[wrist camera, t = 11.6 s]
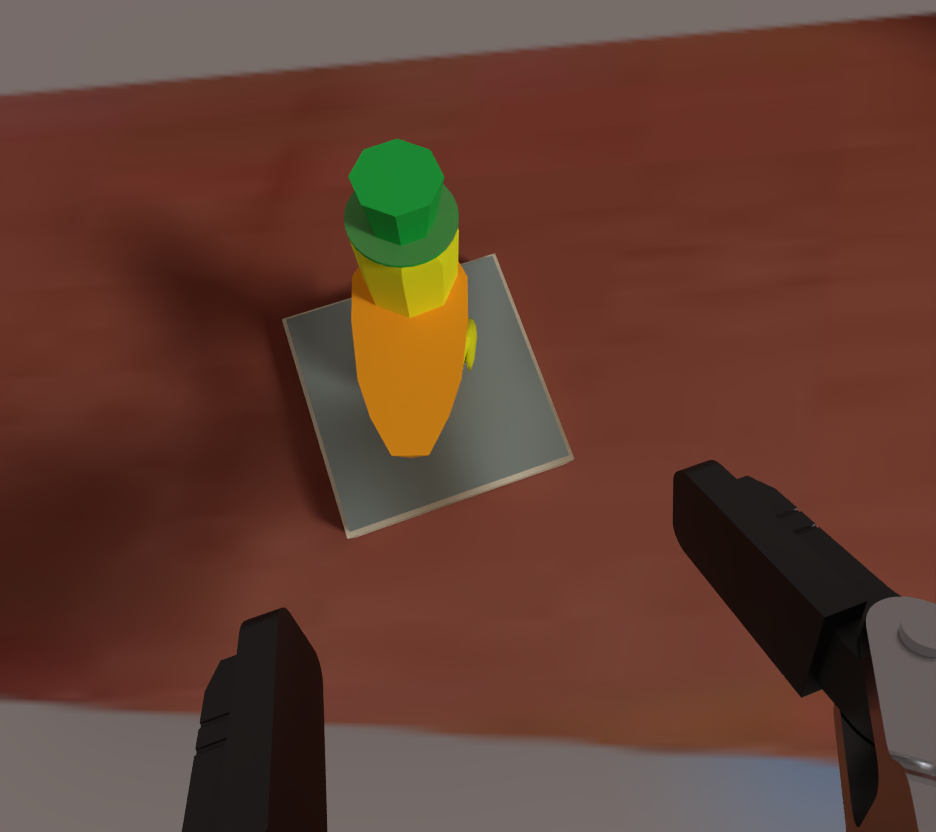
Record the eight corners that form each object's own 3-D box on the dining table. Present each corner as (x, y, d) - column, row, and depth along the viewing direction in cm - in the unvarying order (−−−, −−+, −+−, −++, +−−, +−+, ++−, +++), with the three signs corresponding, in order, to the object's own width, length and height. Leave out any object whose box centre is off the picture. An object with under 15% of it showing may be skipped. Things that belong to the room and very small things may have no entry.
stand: (491, 272, 24) (495, 249, 22) (565, 463, 22) (575, 458, 20) (294, 333, 23) (279, 316, 21) (355, 537, 21) (345, 538, 19)
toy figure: (474, 482, 20) (507, 425, 8) (377, 484, 20) (270, 428, 8) (471, 311, 21) (495, 50, 9) (380, 312, 21) (290, 48, 9)
